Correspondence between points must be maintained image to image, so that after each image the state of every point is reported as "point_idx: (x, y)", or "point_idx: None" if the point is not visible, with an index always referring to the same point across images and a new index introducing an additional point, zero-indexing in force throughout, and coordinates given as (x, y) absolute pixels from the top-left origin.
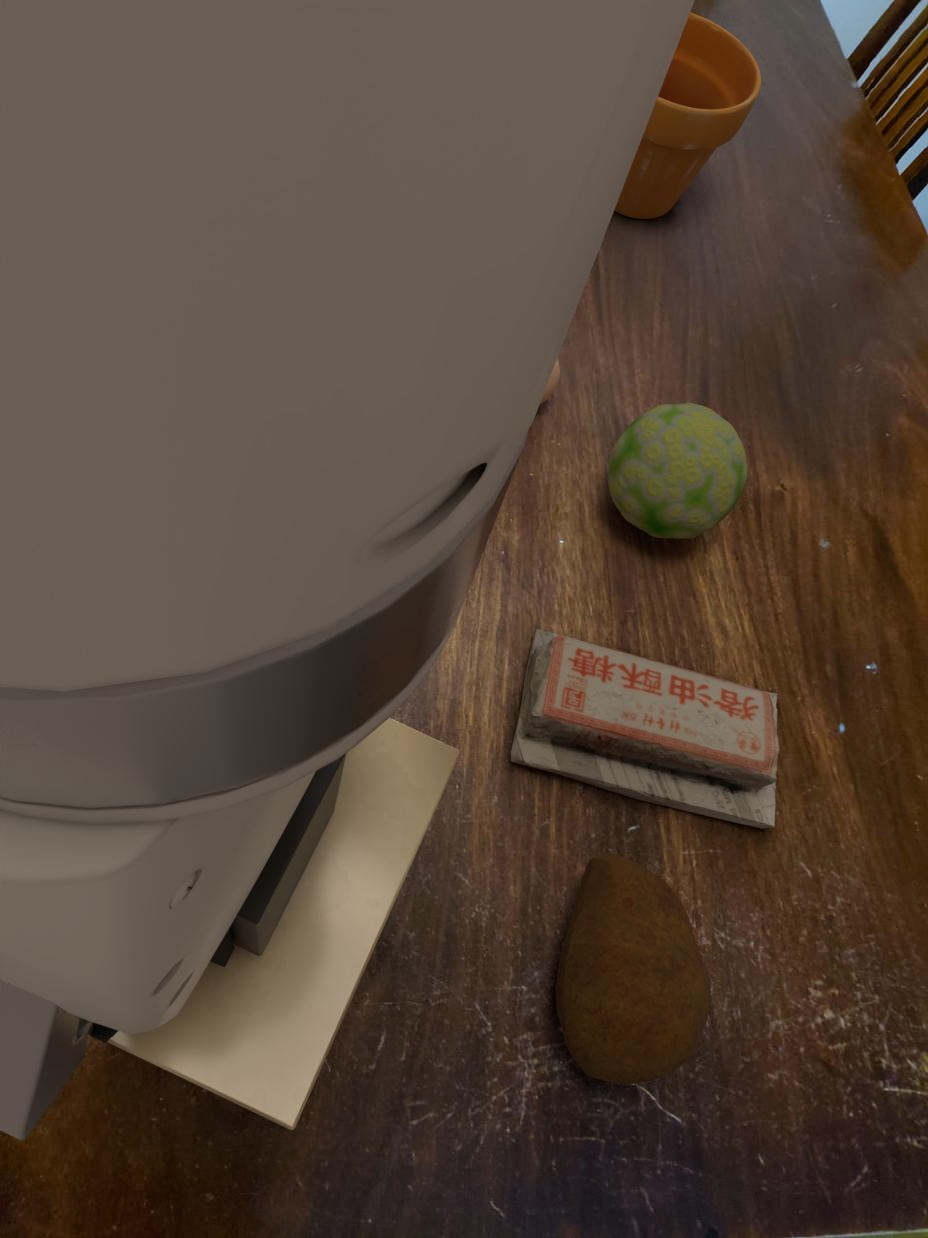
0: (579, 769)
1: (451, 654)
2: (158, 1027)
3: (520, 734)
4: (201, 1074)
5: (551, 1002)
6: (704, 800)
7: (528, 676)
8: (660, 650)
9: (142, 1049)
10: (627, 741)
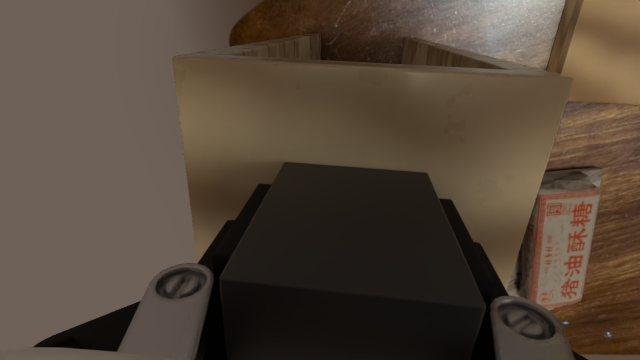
0: None
1: (571, 122)
2: (213, 232)
3: None
4: None
5: None
6: None
7: (565, 174)
8: (599, 235)
9: (196, 228)
10: (532, 239)
